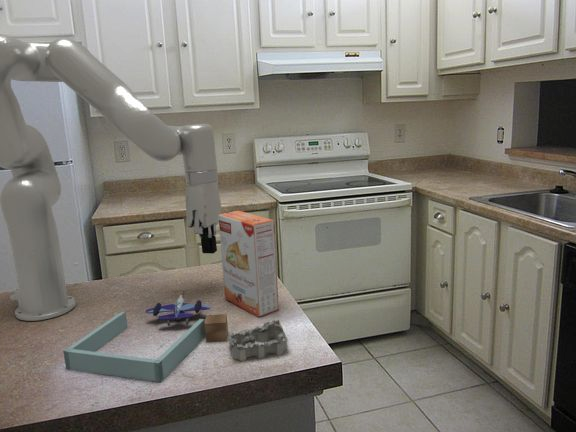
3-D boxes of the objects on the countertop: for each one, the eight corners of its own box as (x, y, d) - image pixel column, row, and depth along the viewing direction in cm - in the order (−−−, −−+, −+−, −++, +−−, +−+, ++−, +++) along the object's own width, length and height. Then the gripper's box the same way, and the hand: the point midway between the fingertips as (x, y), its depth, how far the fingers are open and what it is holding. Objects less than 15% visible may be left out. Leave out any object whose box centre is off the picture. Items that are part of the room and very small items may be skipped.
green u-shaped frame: (66, 369, 85) (63, 351, 85) (123, 326, 101) (121, 311, 101) (160, 382, 80) (158, 363, 79) (205, 335, 96) (204, 319, 95)
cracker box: (223, 300, 113) (216, 213, 109) (244, 293, 117) (239, 209, 112) (257, 318, 103) (252, 223, 98) (279, 310, 106) (275, 218, 102)
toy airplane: (185, 299, 114) (183, 285, 114) (223, 315, 105) (221, 300, 104) (135, 319, 105) (133, 303, 104) (172, 338, 96) (170, 321, 95)
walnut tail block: (206, 343, 93) (204, 323, 92) (208, 333, 97) (206, 315, 96) (226, 341, 93) (225, 322, 93) (228, 332, 97) (226, 313, 96)
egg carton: (282, 337, 95) (281, 318, 94) (290, 356, 87) (289, 335, 86) (227, 344, 93) (226, 324, 92) (231, 364, 85) (229, 343, 84)
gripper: (201, 173, 121) (209, 243, 125) (171, 183, 107) (180, 261, 111) (229, 172, 119) (235, 243, 123) (202, 183, 105) (210, 263, 109)
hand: (209, 252), depth 117 cm, fingers closed
